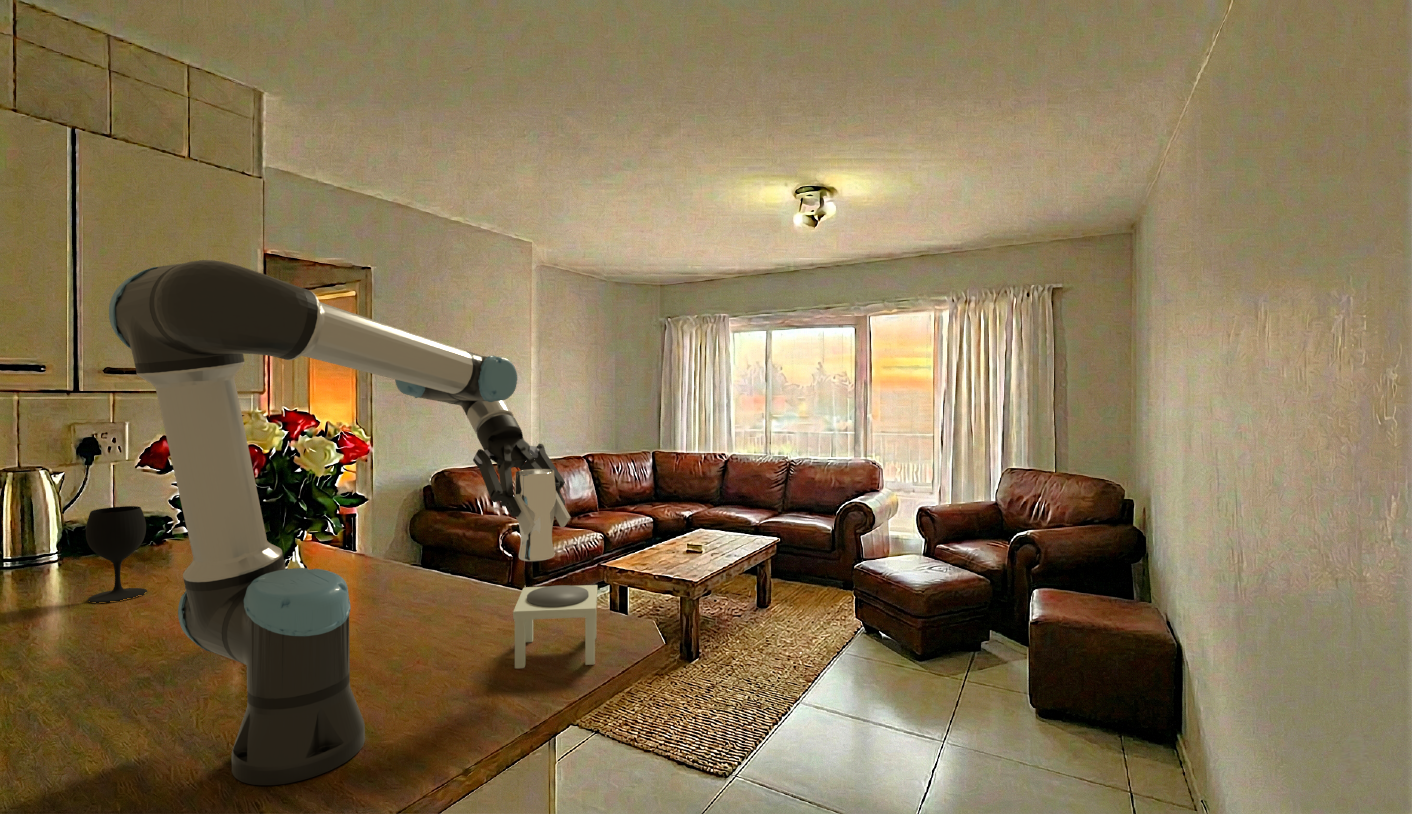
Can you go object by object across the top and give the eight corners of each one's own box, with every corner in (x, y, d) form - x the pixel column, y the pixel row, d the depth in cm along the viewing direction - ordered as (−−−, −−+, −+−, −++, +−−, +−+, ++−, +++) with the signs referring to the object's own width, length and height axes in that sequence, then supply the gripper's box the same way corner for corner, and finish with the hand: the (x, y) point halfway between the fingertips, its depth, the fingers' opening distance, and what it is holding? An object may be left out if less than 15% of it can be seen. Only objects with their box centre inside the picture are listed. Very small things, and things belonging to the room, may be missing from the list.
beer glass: (546, 563, 115) (544, 475, 114) (508, 561, 117) (506, 474, 116) (563, 552, 122) (561, 468, 121) (527, 550, 123) (525, 468, 122)
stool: (513, 668, 117) (513, 608, 117) (523, 638, 131) (523, 584, 131) (595, 664, 119) (595, 604, 119) (597, 635, 133) (597, 581, 133)
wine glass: (155, 594, 157) (153, 508, 157) (97, 606, 149) (94, 515, 148) (137, 587, 163) (135, 503, 162) (80, 598, 154) (78, 510, 154)
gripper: (532, 435, 136) (584, 529, 126) (438, 443, 121) (488, 550, 111) (547, 410, 132) (602, 504, 122) (452, 415, 117) (505, 522, 107)
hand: (548, 525), depth 117 cm, fingers closed on beer glass, 7 cm apart
